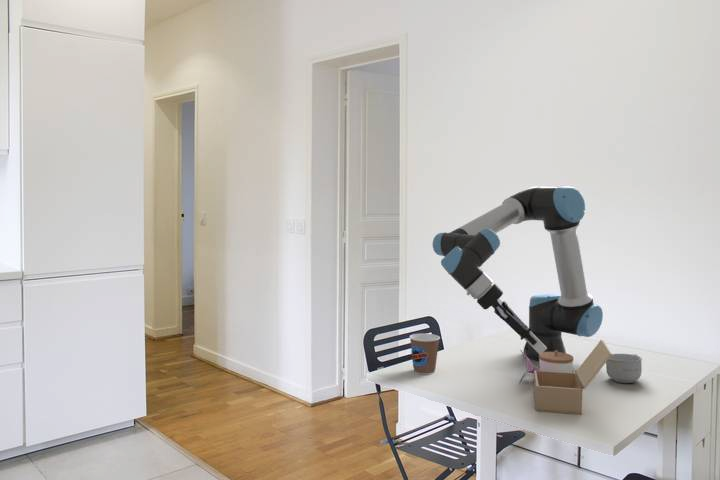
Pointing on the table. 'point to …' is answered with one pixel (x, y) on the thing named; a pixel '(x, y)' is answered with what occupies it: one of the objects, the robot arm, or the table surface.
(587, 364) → the lid
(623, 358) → the teacup
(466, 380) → the table surface
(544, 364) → the lidded jar
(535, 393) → the mailer box
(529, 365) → the lily
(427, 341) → the coffee cup
